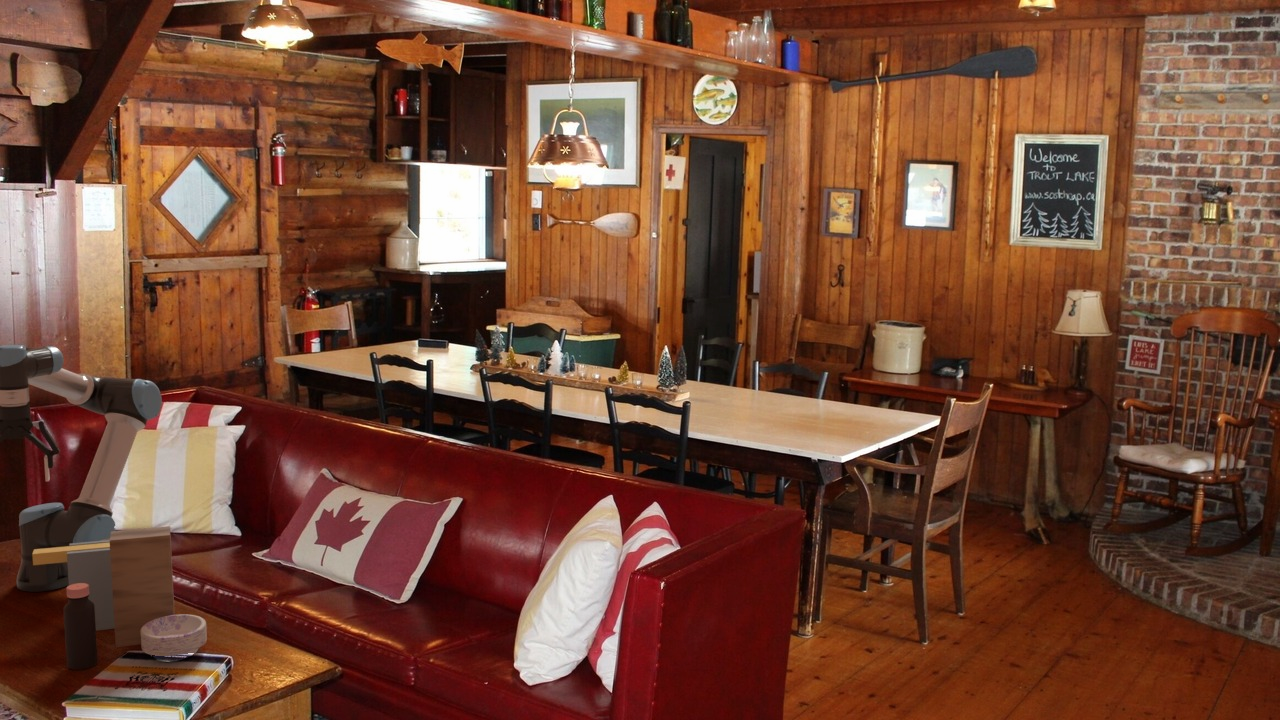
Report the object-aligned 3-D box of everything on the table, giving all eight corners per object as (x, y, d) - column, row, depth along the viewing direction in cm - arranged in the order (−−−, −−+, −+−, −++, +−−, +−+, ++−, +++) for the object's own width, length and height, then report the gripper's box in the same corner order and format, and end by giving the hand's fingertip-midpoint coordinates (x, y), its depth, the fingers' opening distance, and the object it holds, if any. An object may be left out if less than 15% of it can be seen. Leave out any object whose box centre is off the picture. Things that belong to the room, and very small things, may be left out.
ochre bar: (34, 560, 306) (34, 549, 306) (135, 551, 315) (134, 540, 314) (33, 565, 302) (32, 554, 302) (134, 555, 311) (133, 544, 311)
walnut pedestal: (117, 635, 305) (111, 531, 300) (175, 628, 310) (170, 526, 305) (115, 647, 297) (109, 540, 293) (175, 640, 302) (169, 535, 298)
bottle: (102, 664, 287) (97, 586, 284) (73, 673, 282) (68, 593, 279) (91, 656, 291) (86, 579, 288) (62, 664, 286) (57, 586, 283)
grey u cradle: (74, 621, 314) (69, 543, 311) (139, 613, 320) (135, 537, 317) (72, 633, 306) (66, 553, 302) (138, 625, 312) (134, 547, 308)
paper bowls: (170, 672, 283) (168, 641, 282) (128, 659, 290) (126, 628, 289) (220, 651, 296) (219, 621, 295) (179, 638, 303) (178, 609, 302)
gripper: (-43, 409, 302) (-37, 489, 305) (65, 403, 311) (70, 481, 314) (-38, 404, 308) (-32, 482, 312) (67, 398, 317) (72, 475, 321)
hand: (19, 482), depth 313 cm, fingers open, 13 cm apart
